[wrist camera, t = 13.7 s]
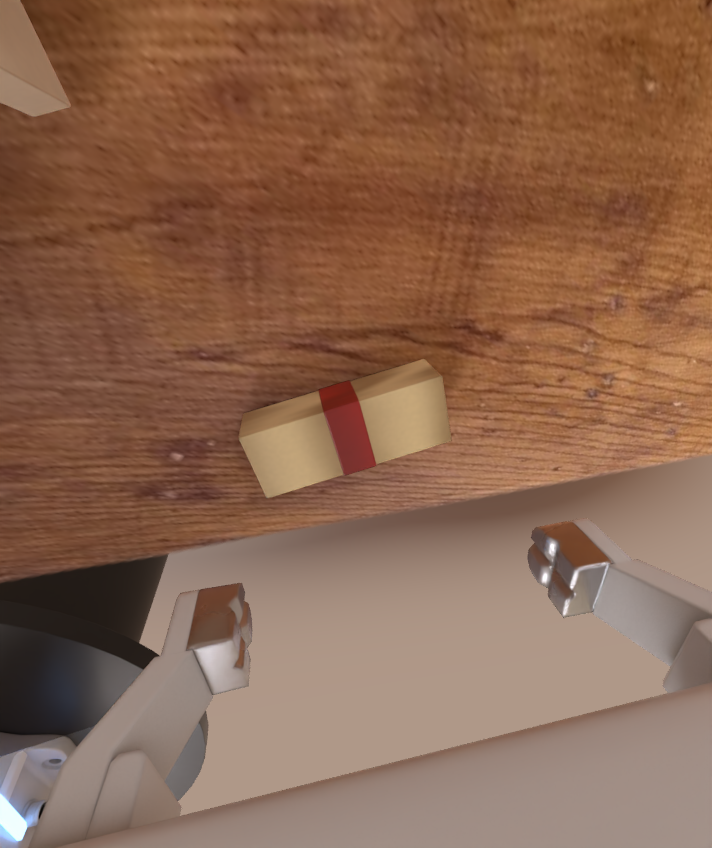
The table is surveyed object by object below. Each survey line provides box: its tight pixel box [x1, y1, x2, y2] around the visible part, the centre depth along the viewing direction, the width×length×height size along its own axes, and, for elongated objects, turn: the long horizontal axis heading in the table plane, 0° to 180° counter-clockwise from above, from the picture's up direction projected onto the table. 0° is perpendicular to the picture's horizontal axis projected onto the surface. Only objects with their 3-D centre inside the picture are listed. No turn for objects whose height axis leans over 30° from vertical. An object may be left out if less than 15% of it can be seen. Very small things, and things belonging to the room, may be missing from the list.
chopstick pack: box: [239, 359, 452, 498], centre depth 18 cm, size 9×4×2 cm, turn 104°
